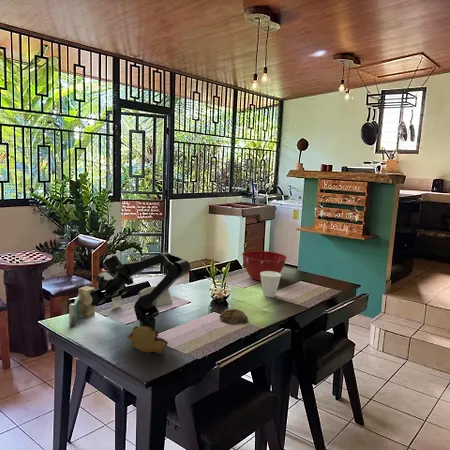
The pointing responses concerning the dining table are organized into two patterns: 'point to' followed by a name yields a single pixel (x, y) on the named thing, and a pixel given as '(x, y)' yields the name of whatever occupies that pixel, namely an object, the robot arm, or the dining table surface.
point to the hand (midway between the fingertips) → (99, 302)
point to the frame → (115, 303)
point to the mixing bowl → (262, 262)
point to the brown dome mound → (233, 316)
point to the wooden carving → (147, 340)
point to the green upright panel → (76, 308)
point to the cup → (270, 282)
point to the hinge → (162, 300)
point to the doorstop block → (86, 302)
